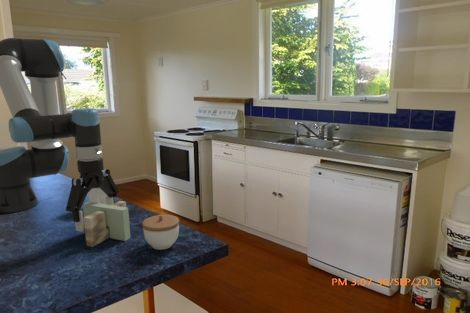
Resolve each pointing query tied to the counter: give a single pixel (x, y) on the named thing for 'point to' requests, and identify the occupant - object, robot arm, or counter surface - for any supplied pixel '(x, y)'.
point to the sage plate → (112, 219)
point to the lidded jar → (161, 231)
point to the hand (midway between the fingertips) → (96, 222)
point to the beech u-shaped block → (98, 226)
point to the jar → (97, 195)
